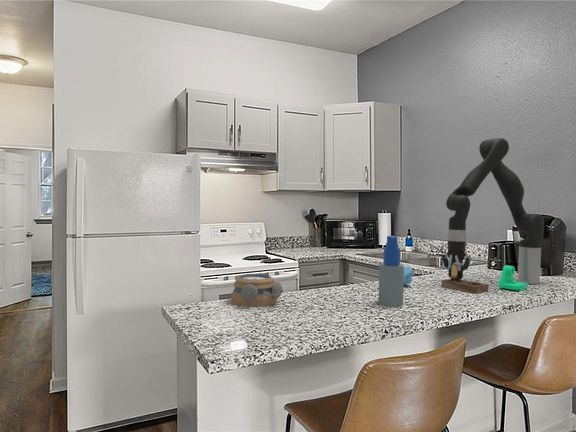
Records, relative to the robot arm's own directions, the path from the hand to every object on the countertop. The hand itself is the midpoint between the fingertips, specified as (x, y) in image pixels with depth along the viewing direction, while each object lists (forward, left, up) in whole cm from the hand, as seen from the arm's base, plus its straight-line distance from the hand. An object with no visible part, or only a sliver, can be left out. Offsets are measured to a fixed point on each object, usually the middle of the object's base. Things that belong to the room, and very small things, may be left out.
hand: (455, 278), depth 187 cm
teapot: (+19, -17, -4) cm, 26 cm away
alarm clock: (+90, -22, -4) cm, 93 cm away
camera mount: (-20, +16, -5) cm, 26 cm away
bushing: (0, 0, -2) cm, 2 cm away
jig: (0, +5, -4) cm, 6 cm away
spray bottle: (+49, +5, -4) cm, 49 cm away
